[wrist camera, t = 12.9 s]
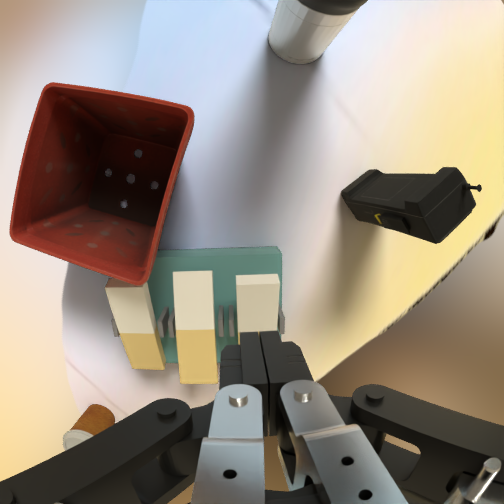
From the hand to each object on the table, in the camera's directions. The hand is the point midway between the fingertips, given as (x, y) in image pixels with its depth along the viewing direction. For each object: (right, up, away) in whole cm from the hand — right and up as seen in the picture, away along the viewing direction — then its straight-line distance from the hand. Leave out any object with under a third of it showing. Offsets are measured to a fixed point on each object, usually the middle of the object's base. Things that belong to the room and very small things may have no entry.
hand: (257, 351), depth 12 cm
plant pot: (-19, +15, +34) cm, 41 cm away
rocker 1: (-16, -6, +29) cm, 33 cm away
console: (-8, -4, +38) cm, 39 cm away
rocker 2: (-8, -6, +29) cm, 30 cm away
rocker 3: (0, -6, +29) cm, 30 cm away
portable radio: (+17, +13, +37) cm, 42 cm away
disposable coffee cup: (-32, -30, +43) cm, 61 cm away
